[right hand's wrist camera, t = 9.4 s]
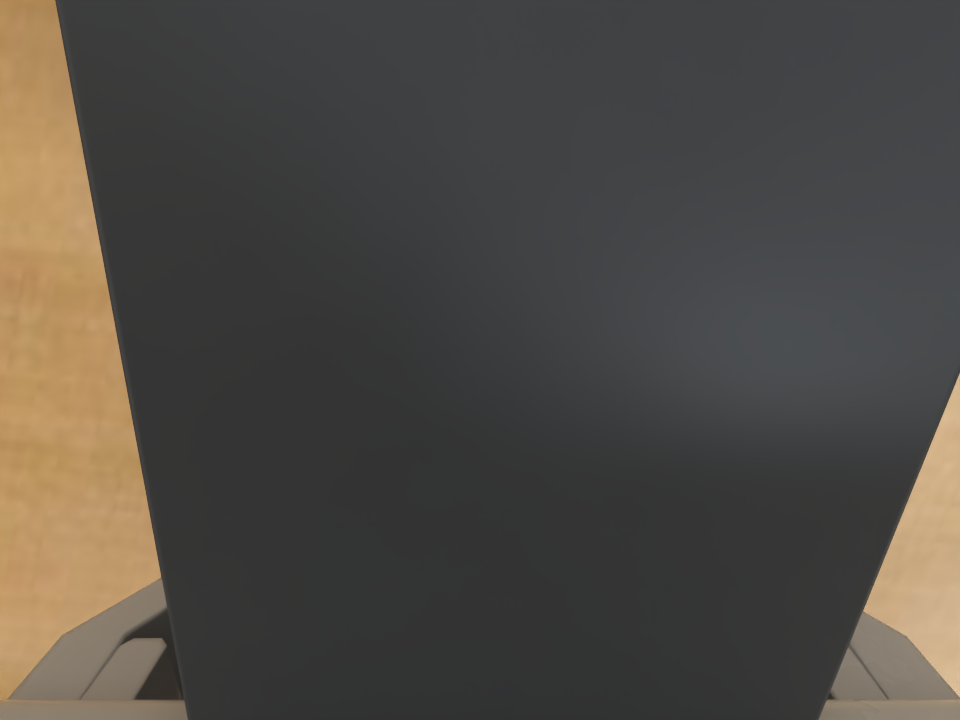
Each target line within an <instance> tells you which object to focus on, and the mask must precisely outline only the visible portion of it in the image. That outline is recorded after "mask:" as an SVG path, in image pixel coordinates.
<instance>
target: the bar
mask: <svg viewBox="0 0 960 720" xmlns="http://www.w3.org/2000/svg"><path fill="white" fill-rule="evenodd" d="M55 1H56V6H57V12H58V17H59V22H60V28H61V33H62V39H63V44H64V50H65V55H66V60H67V66H68V71H69V77H70V82H71V88H72V93H73V99H74V104H75V109H76V115H77V120H78V126H79V131H80V137H81V142H82V147H83V153H84V158H85V164H86V169H87V175H88V180H89V185H90V191H91V196H92V202H93V207H94V213H95V218H96V224H97V229H98V234H99V240H100V245H101V251H102V256H103V262H104V267H105V272H106V278H107V283H108V289H109V294H110V300H111V305H112V311H113V316H114V321H115V327H116V332H117V338H118V343H119V349H120V354H121V359H122V365H123V370H124V376H125V381H126V387H127V392H128V397H129V403H130V408H131V414H132V419H133V425H134V430H135V436H136V441H137V446H138V452H139V457H140V463H141V468H142V474H143V479H144V484H145V490H146V495H147V501H148V506H149V512H150V517H151V522H152V528H153V533H154V539H155V544H156V550H157V555H158V561H159V566H160V571H161V577H162V582H163V588H164V593H165V599H166V604H167V609H168V615H169V620H170V626H171V631H172V637H173V642H174V648H175V653H176V658H177V664H178V669H179V675H180V680H181V686H182V691H183V696H184V702H185V707H186V713H187V718H188V720H819V718H820V715H821V713H822V710H823V708H824V706H825V703H826V701H827V698H828V696H829V693H830V691H831V688H832V686H833V683H834V681H835V678H836V676H837V674H838V671H839V669H840V666H841V664H842V661H843V659H844V656H845V654H846V651H847V649H848V646H849V644H850V642H851V639H852V637H853V634H854V632H855V629H856V627H857V624H858V622H859V619H860V617H861V614H862V612H863V610H864V607H865V605H866V602H867V600H868V597H869V595H870V592H871V590H872V587H873V585H874V582H875V580H876V578H877V575H878V573H879V570H880V568H881V565H882V563H883V560H884V558H885V555H886V553H887V550H888V548H889V546H890V543H891V541H892V538H893V536H894V533H895V531H896V528H897V526H898V523H899V521H900V518H901V516H902V514H903V511H904V509H905V506H906V504H907V501H908V499H909V496H910V494H911V491H912V489H913V486H914V484H915V482H916V479H917V477H918V474H919V472H920V469H921V467H922V464H923V462H924V459H925V457H926V454H927V452H928V450H929V447H930V445H931V442H932V440H933V437H934V435H935V432H936V430H937V427H938V425H939V422H940V420H941V418H942V415H943V413H944V410H945V408H946V405H947V403H948V400H949V398H950V395H951V393H952V390H953V388H954V386H955V383H956V381H957V378H958V376H959V373H960V0H55Z"/></svg>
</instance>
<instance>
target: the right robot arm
mask: <svg viewBox="0 0 960 720" xmlns="http://www.w3.org/2000/svg"><path fill="white" fill-rule="evenodd" d="M0 720H188V718H187V713H186V707H185V702H184V696H183V691H182V686H181V680H180V675H179V669H178V664H177V658H176V653H175V648H174V642H173V637H172V631H171V626H170V620H169V615H168V609H167V604H166V599H165V593H164V588H163V582H162V578H160V579H159V580H157V581H155V582H153V583H152V584H150V585H148V586H147V587H145V588H143V589H141V590H140V591H138V592H136V593H134V594H133V595H131V596H129V597H128V598H126V599H124V600H122V601H121V602H119V603H117V604H116V605H114V606H112V607H110V608H109V609H107V610H105V611H103V612H102V613H100V614H98V615H97V616H95V617H93V618H91V619H90V620H88V621H86V622H85V623H83V624H81V625H79V626H78V627H76V628H74V629H72V630H71V631H69V632H67V633H66V634H64V635H62V636H61V637H60V638H59V640H58V641H57V642H56V643H55V644H54V645H53V647H52V648H51V649H50V650H49V651H48V652H47V654H46V655H45V656H44V657H43V658H42V659H41V661H40V662H39V663H38V664H37V665H36V667H35V668H34V669H33V670H32V671H31V672H30V674H29V675H28V676H27V677H26V678H25V679H24V681H23V682H22V683H21V684H20V685H19V686H18V688H17V689H16V690H15V691H14V692H13V693H12V695H11V696H10V697H9V698H8V699H7V700H0ZM819 720H960V698H959V696H958V695H957V694H956V693H955V692H954V691H953V689H952V688H951V687H950V686H949V685H948V684H947V683H946V681H945V680H944V679H943V678H942V677H941V676H940V674H939V673H938V672H937V671H936V670H935V669H934V668H933V666H932V665H931V664H930V663H929V662H928V661H927V659H926V658H925V657H924V656H923V655H922V654H921V652H920V651H919V650H918V649H917V648H916V647H915V646H914V644H913V643H912V642H911V641H910V640H909V639H908V637H907V636H905V635H903V634H901V633H900V632H898V631H896V630H894V629H893V628H891V627H889V626H888V625H886V624H884V623H882V622H881V621H879V620H877V619H875V618H874V617H872V616H870V615H868V614H867V613H865V612H862V614H861V617H860V619H859V622H858V624H857V627H856V629H855V632H854V634H853V637H852V639H851V642H850V644H849V646H848V649H847V651H846V654H845V656H844V659H843V661H842V664H841V666H840V669H839V671H838V674H837V676H836V678H835V681H834V683H833V686H832V688H831V691H830V693H829V696H828V698H827V701H826V703H825V706H824V708H823V710H822V713H821V715H820V718H819Z"/></svg>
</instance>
